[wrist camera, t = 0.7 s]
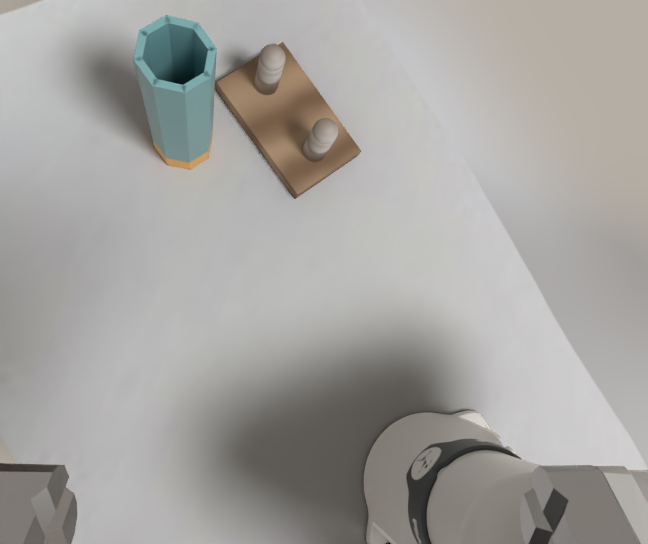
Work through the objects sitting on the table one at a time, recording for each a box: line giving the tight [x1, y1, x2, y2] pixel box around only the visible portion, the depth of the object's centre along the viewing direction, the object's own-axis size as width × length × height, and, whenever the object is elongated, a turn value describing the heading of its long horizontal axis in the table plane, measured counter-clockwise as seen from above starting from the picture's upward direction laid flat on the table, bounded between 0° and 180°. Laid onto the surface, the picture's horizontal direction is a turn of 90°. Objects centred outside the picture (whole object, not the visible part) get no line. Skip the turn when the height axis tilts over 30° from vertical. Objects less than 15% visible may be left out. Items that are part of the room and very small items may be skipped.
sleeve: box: [133, 15, 217, 170], centre depth 54 cm, size 6×6×20 cm
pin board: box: [216, 42, 361, 199], centre depth 62 cm, size 15×9×9 cm, turn 37°
